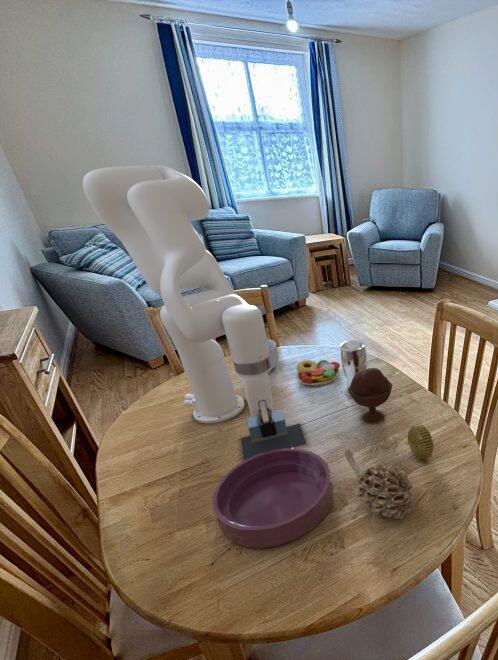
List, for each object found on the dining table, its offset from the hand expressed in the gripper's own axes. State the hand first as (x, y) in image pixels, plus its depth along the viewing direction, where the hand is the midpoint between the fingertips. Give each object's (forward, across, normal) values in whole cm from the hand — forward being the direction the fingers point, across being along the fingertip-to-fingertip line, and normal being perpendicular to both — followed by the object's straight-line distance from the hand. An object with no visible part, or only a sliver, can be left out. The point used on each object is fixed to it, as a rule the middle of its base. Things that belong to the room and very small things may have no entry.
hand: (268, 428), depth 98 cm
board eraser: (+1, 0, 0) cm, 1 cm away
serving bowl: (+3, +22, -1) cm, 22 cm away
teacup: (+5, -40, +1) cm, 40 cm away
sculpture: (+3, +21, +31) cm, 37 cm away
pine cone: (+3, +28, +17) cm, 33 cm away
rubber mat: (+4, +1, +1) cm, 4 cm away
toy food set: (+4, -26, +17) cm, 32 cm away
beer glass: (+4, -12, +26) cm, 29 cm away
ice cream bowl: (+3, +2, +26) cm, 26 cm away
